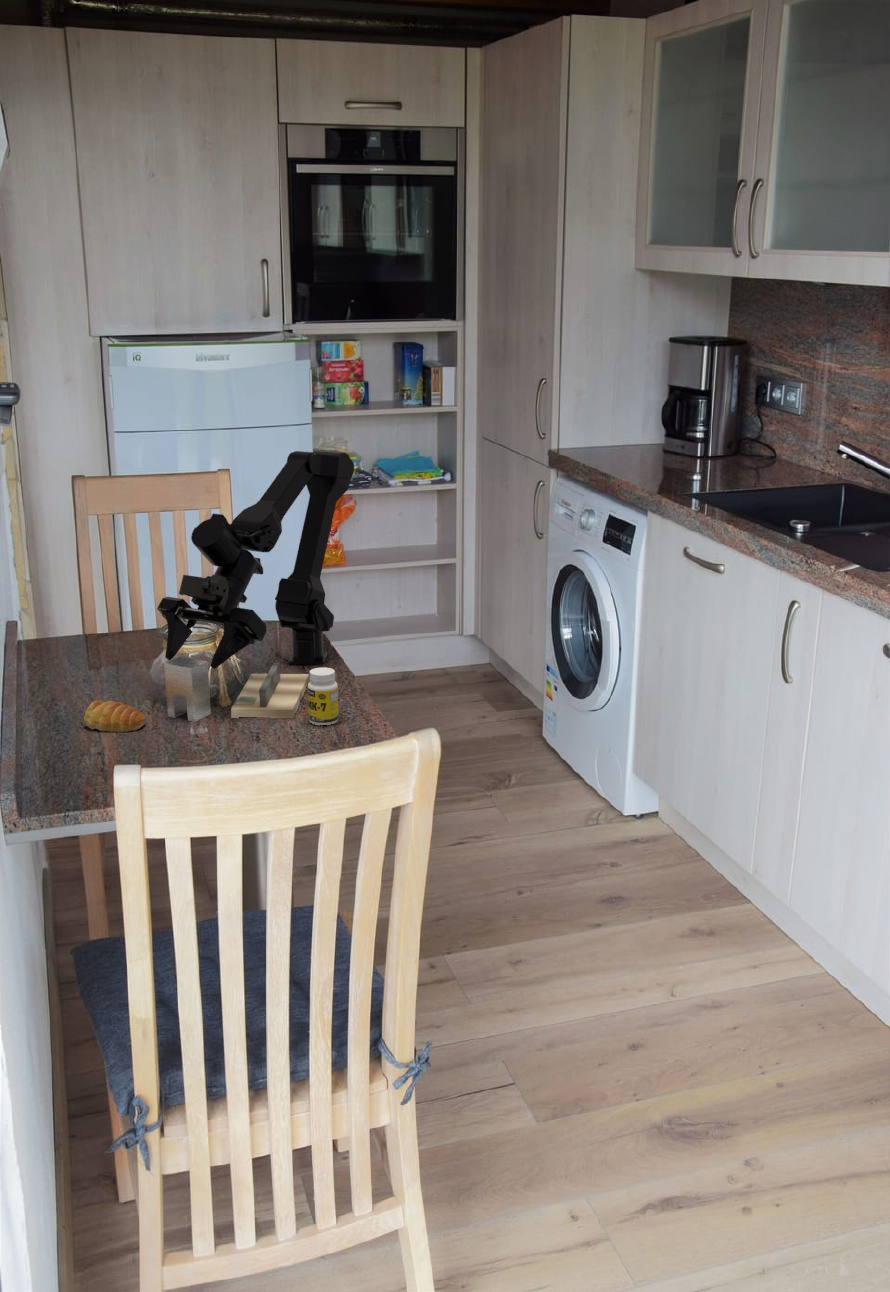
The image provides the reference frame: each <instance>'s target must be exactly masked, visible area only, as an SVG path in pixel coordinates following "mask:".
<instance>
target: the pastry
mask: <svg viewBox="0 0 890 1292" xmlns="http://www.w3.org/2000/svg"><path fill="white" fill-rule="evenodd" d="M146 720H147V717H146V715H145V714H144V713H142V712H141V711H140V710H139V709H138V708H135V707H134V708H133V706H132V705H126V704H125V703H124V702H123V701H117V702H116V701H114V700H108V701H106V702H105V701H103V700H95V701H92V702H91V703H90V704H89V706H88V707H87V709H86V710H85V714H84V718H83V724H84V725H85V726H87V727H88V728H89V729H90V730H93V731H94V729H96V730H98V731H100V732H105V731H106V732H107V733H108V732H110V733H125V732H126V733H127V732H130V731H131V732H132V731H137V730H139V729H141V728H142V727H143V726H144V725H145V724H146ZM106 732H105V733H106Z"/></svg>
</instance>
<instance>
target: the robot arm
mask: <svg viewBox="0 0 890 1292" xmlns="http://www.w3.org/2000/svg"><path fill="white" fill-rule="evenodd" d="M354 471H355V464H354V462H353V459H351V457H350V455H349V454H348V453H347V452H342V451H330V450H314V451H302V450H296V451H293V452H290V453H289V454H288V456H287V460H286V463H285V464H284V466H283V467H282V469H280V471H279V472H278V474H277V475H276V477H275V478H274V480H273V481H272V482H271V484H270V485H269V487H267V489H266V491H265V492H264V494H263V495H262V496H261V497H260V499H259V500H258V501H257V502H256V503H254V504H253V505H252V504H251V506H248V507H246V508H244V509H243V510H242V511H241V512H240V513H238V515H237V516H236V517H235V518H233V520H232V522H231V523H229V522H228V520H227V518H226V516H225V515H224V514H221V513H212V514H211V517H210V518H209V519H206V520H203V521H202V522H201V523H199V524H198V525H197V526H196V527H194V529H193V530H192V533H191V536H190V537H191V539H190V540H191V542H192V544H193V546H194V547H196V549H197V550H198V551H199V552H200V553H201V554H202V555H203V557H204V558H205V559H206V560H207V561H208V562H209V563H210V564H211V565H212V566H213V567H217V568H216V570H215V572H214V574H212V575H211V576H209V575H207V576H206V577H202V576H195V575H188V574H183V575H182V578H181V583H180V586H179V587H180V588H179V590H178V591H179V592H178V594H179V595H181V596H188V597H190V598H191V600H190V601H191V603H193V605H196V606H197V608H193V607H192V606H191V605H190V604H189V603H188V602H187V601H186V599H184V598H179V597H178V598H177V597H174V596H173V597H172V596H165V597H162V599H161V601H160V602H159V604H158V606H157V608H156V609H157V611H158V612H159V613H160V614H161V617H163V619H165V621H166V623H167V640H166V649H165V656H164V657H165V659H166V660H167V661H171V660H173V658H174V657H176V655H177V654H178V653H179V651H180V650H181V648H182V647H183V645H185V643H186V642H187V640H188V639H189V637H190V636H191V634H192V633H193V630H192V629H191V628H193V627H194V626H195V625H196V624H197V622H200V623H201V622H202V623H207V624H212V625H213V624H214V625H219V626H223V634H222V637H221V639H220V641H219V643H218V646H217V647H216V650H215V651H214V654H213V656H212V658H211V661H210V665H209V666H210V668H212V669H213V670H214V669H215V670H216V669H217V668H218V667H220V666H221V665H222V664H223V663H225V662H226V661H228V659H230V658H232V656H234V655H235V654H237V653H238V652H239V651H241V650H242V649H244V648H245V647H248V646H249V645H254V644H255V642H256V641H257V642H262V641H263V640H264V638H265V636H266V634H267V625H266V623H265V621H263V620H262V618H261V617H260V616H259V615H258V613H256V612H255V611H254V609H250V608H243V607H238V606H239V604H240V603H241V604H246V602H247V600H248V597H247V596H246V595H245V592H246V590H247V588H248V586H249V583H250V582H251V579H252V578H253V575H254V574H255V575H263V574H264V567H263V566H262V562H261V558H260V557H255V556H254V554H252V553H251V552H257V553H258V552H259V553H270V552H271V551H272V550H273V549H274V548H275V546H276V545H277V542H278V540H279V538H280V536H281V534H282V532H283V526H282V521H283V520H284V518H285V515H286V514H287V513H288V512H289V510H290V509H291V507H292V505H294V503H295V501H296V500H297V498H298V497H299V496H300V495H301V493H302V491H303V489H304V488H305V487H306V488H307V491H308V494H309V498H308V502H307V507H306V513H305V517H304V521H303V526H302V530H301V535H300V539H299V543H298V544H299V545H298V549H297V553H296V558H295V562H294V567H293V571H292V573H290V574H289V576H288V577H287V578H285V577H282V578H281V579H280V580H279V583H278V589H277V593H276V596H275V598H274V599H275V606H274V607H275V611H276V614H277V619H278V622H279V626H280V627H281V628H288V629H290V631H291V632H290V633H291V652H292V653H290V654H291V655H290V656H289V658H288V660H287V662H288V663H287V664H289V665H323V664H324V663H325V660H326V658H327V656H328V651H326V650H324V635H323V632H330V631H331V628H333V626H334V621H335V620H334V619H335V615H334V614H333V613H332V612H331V610H330V609H329V607H328V606H327V605H326V604H325V601H326V600H325V599H326V592H325V589H324V586H323V583H322V580H321V575H322V570H323V566H324V560H325V557H326V552H327V547H328V542H329V538H330V534H331V529H332V524H333V520H334V514H335V511H336V506H337V502H338V501H339V500H340V499H341V498H342V497H343V495H345V493H346V492H347V491H348V489H349V487H350V484H351V481H352V479H353V478H352V477H353V475H354V473H355V472H354ZM187 638H188V639H187ZM186 639H187V640H186Z"/></svg>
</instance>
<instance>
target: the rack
mask: <svg viewBox="0 0 890 1292" xmlns="http://www.w3.org/2000/svg"><path fill="white" fill-rule="evenodd" d="M280 668H281V666H280V662H273V663H272V665H271V668H269V671H268V673H251V674H250V676H249V678H248V680H247V681H246V683H245V684H244V686H243V688H242V690H241V691H240V693H239V695H238V696H237V698H236V700H235V701H234V703H233V704H232V706H231V709H230V717H231V719H240V718H239V717H271V718H270V719H294V718H295V717H296V714H295V713H297V712H298V709H299V707H298V706H300V704H301V702H302V700H301V699H303V698H304V695H305V693H306V691H305V690H307V688H308V686H307V685H308V683H309V682H310V678H309V677H310V673H281V669H280ZM306 687H307V688H306ZM304 692H305V693H304ZM302 697H303V698H302ZM300 701H301V702H300Z"/></svg>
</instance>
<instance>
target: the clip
mask: <svg viewBox="0 0 890 1292" xmlns="http://www.w3.org/2000/svg"><path fill="white" fill-rule="evenodd" d="M163 665H164V667H163V668H164V680H165V692H166V707H167V717H169V718H173V719H176V718H178V717H180V716H182V715H184V714H186V713H187V721H188V722H192V723H196V722H198V721H200V720H202V719H205V718H207V717H209V716H211V715H212V710H211V694H210V678H209V663H208V661H206V660H203V659H201V660H200V659H197V658H196V659H195V658H190V657H185V656H179V657H176V658H174V659H171V660H168V661H166V662H165V663H163ZM210 714H211V715H210ZM208 715H209V716H208ZM206 716H207V717H206Z"/></svg>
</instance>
